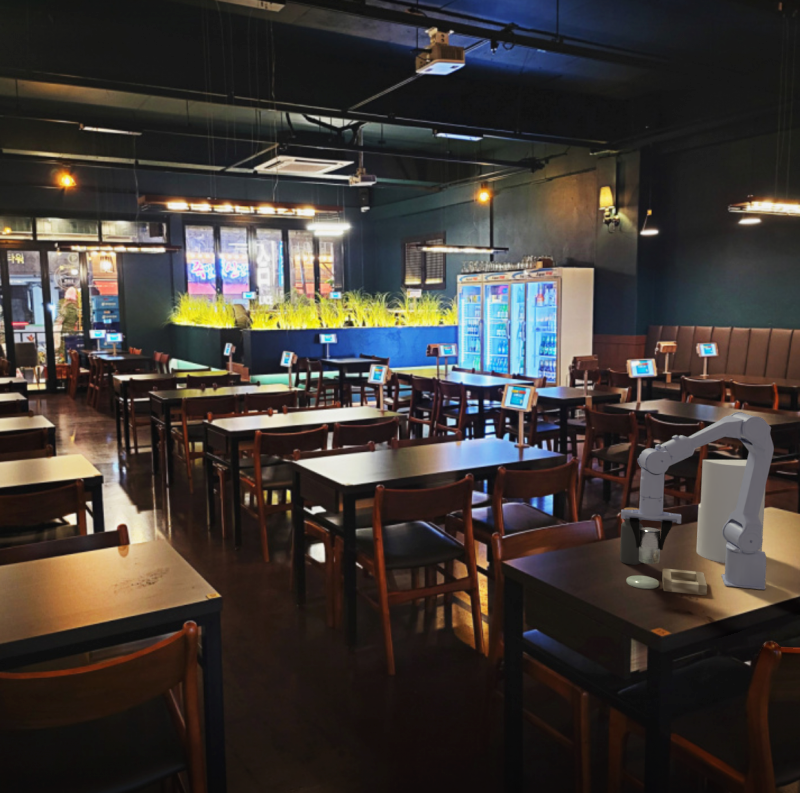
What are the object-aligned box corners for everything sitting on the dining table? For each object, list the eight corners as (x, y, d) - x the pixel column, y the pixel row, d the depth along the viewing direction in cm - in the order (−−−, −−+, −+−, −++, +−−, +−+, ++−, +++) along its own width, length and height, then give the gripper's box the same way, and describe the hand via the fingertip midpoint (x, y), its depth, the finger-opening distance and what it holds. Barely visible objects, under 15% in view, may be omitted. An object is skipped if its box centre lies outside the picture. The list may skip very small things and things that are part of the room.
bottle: (642, 565, 202) (644, 512, 200) (620, 564, 203) (622, 511, 202) (640, 558, 208) (642, 507, 206) (619, 557, 209) (620, 506, 207)
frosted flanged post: (659, 558, 189) (660, 528, 188) (659, 564, 184) (660, 534, 184) (638, 556, 191) (639, 526, 190) (638, 562, 186) (639, 532, 185)
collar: (702, 581, 189) (703, 572, 189) (706, 595, 180) (706, 585, 180) (662, 577, 193) (662, 568, 192) (663, 590, 183) (663, 581, 183)
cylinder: (772, 564, 203) (778, 466, 200) (710, 564, 203) (715, 465, 200) (744, 545, 220) (749, 454, 217) (687, 545, 220) (691, 454, 217)
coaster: (658, 579, 191) (658, 577, 191) (659, 590, 183) (659, 588, 183) (626, 576, 193) (626, 574, 193) (626, 586, 186) (626, 584, 186)
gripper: (681, 494, 187) (678, 545, 189) (622, 490, 192) (620, 540, 193) (682, 501, 181) (680, 554, 182) (621, 496, 185) (619, 548, 186)
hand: (649, 547), depth 187 cm, fingers closed on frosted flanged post, 5 cm apart
